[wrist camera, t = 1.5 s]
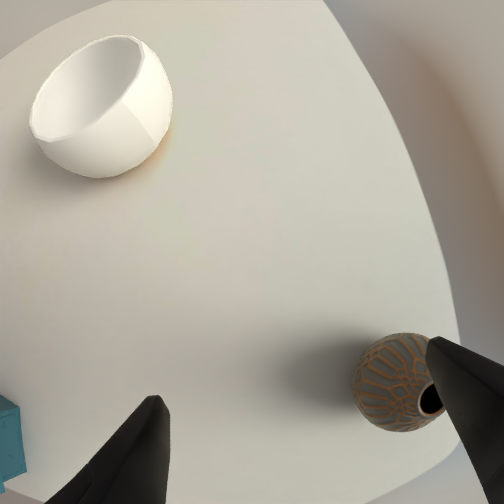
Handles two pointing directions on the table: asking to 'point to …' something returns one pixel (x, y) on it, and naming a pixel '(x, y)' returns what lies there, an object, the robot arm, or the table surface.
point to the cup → (103, 108)
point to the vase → (396, 384)
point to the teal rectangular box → (10, 441)
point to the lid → (1, 485)
